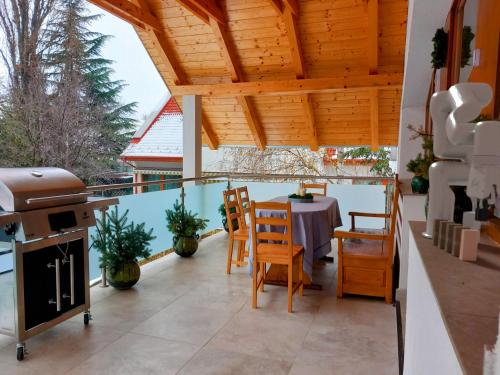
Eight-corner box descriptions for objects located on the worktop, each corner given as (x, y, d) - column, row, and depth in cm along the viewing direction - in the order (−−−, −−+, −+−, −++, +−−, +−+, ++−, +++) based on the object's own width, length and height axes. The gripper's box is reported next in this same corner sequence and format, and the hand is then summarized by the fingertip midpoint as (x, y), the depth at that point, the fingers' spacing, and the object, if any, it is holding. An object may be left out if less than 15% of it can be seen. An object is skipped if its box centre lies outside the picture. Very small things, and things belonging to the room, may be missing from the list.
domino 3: (444, 251, 135) (446, 223, 134) (457, 251, 135) (459, 224, 134) (446, 252, 134) (449, 224, 133) (459, 252, 134) (462, 224, 133)
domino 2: (437, 247, 140) (440, 220, 139) (450, 247, 140) (452, 221, 139) (439, 248, 139) (442, 221, 138) (452, 249, 139) (454, 222, 138)
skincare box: (471, 244, 147) (474, 213, 146) (460, 242, 151) (462, 212, 150) (479, 242, 151) (482, 212, 149) (468, 240, 154) (470, 211, 153)
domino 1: (431, 244, 145) (433, 218, 144) (443, 244, 145) (445, 219, 144) (433, 245, 144) (435, 219, 143) (445, 245, 144) (448, 219, 143)
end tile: (476, 260, 124) (478, 230, 123) (461, 260, 124) (464, 230, 123) (473, 259, 126) (476, 229, 125) (459, 258, 126) (461, 229, 125)
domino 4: (451, 254, 131) (454, 226, 130) (464, 255, 130) (467, 226, 129) (453, 256, 129) (456, 227, 128) (467, 256, 129) (470, 227, 128)
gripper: (460, 161, 124) (456, 216, 125) (488, 161, 109) (483, 224, 110) (484, 162, 124) (479, 217, 125) (514, 162, 109) (509, 225, 110)
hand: (481, 220), depth 118 cm, fingers closed
